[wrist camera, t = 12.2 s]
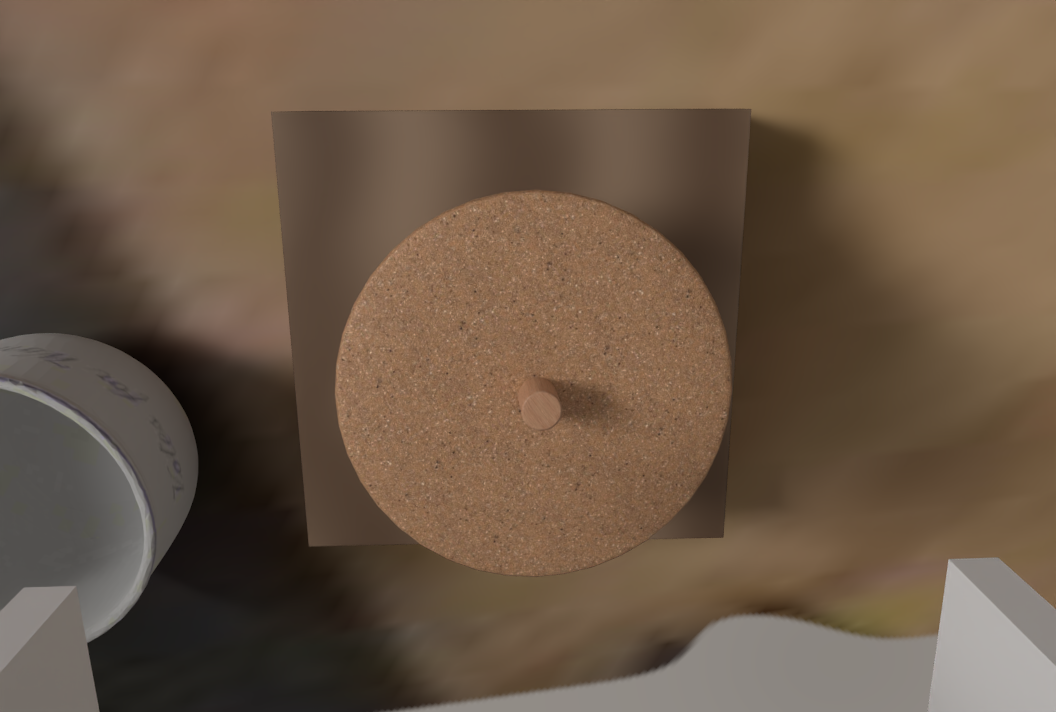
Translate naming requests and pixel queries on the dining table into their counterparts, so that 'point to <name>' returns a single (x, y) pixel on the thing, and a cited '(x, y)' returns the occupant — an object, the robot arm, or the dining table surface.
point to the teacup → (88, 472)
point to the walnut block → (456, 178)
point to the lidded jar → (533, 383)
